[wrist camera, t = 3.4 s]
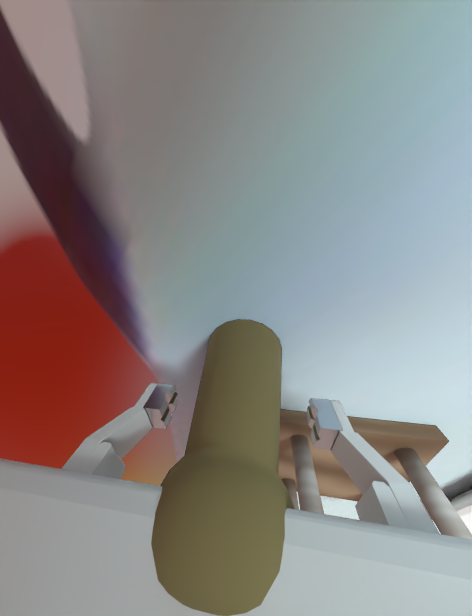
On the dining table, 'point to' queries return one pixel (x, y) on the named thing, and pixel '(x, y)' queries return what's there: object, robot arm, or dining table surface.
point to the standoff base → (387, 442)
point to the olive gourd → (227, 481)
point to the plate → (464, 508)
